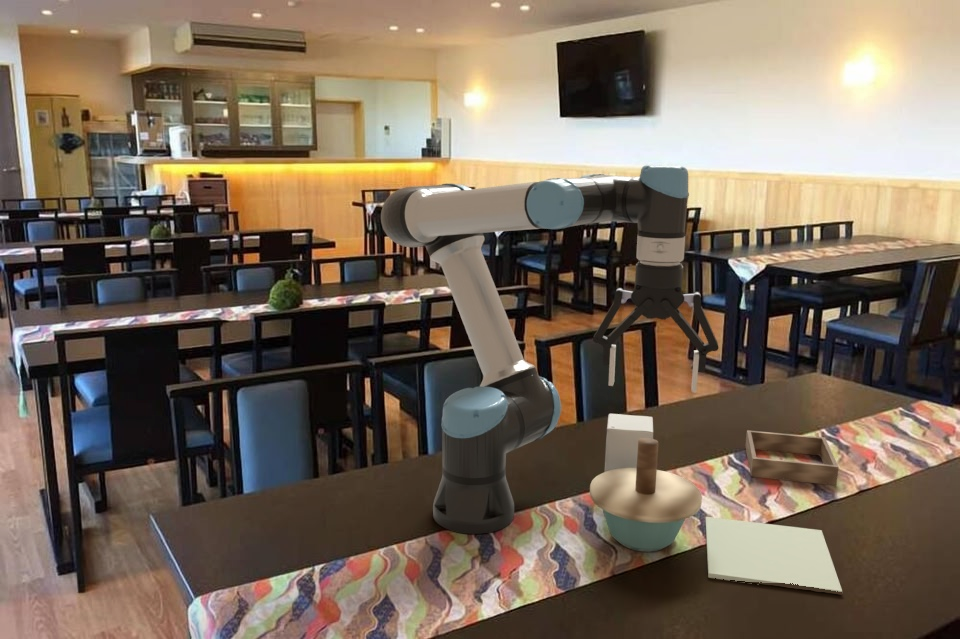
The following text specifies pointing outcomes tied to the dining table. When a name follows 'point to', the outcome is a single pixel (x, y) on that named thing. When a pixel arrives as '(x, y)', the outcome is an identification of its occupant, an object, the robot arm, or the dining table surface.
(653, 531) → the bowl
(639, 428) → the supplement box
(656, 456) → the lid
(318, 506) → the dining table surface
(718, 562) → the mat
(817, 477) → the holder corral
